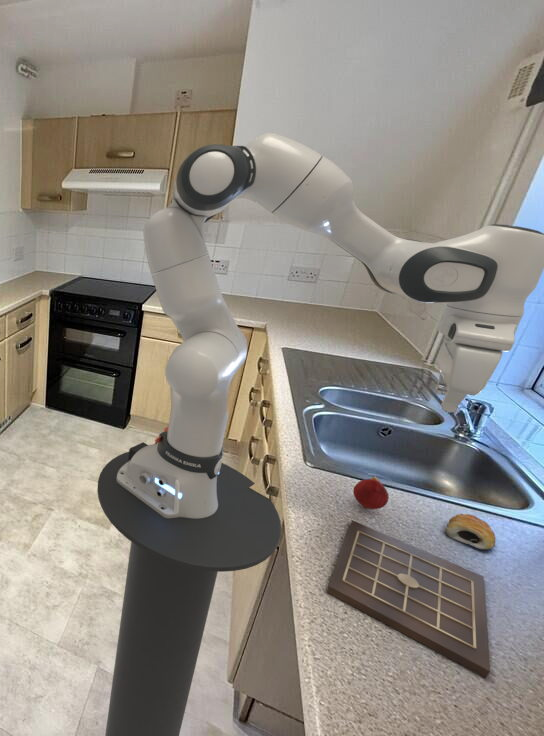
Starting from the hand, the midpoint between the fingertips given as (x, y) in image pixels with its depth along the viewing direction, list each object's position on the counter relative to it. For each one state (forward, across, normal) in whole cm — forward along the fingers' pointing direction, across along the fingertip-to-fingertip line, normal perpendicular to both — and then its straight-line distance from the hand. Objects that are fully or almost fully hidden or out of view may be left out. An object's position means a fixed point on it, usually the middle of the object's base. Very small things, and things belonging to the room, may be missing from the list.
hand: (444, 401), depth 73 cm
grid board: (+30, +14, +2) cm, 33 cm away
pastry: (+29, -10, +12) cm, 34 cm away
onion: (+30, -7, -4) cm, 31 cm away
